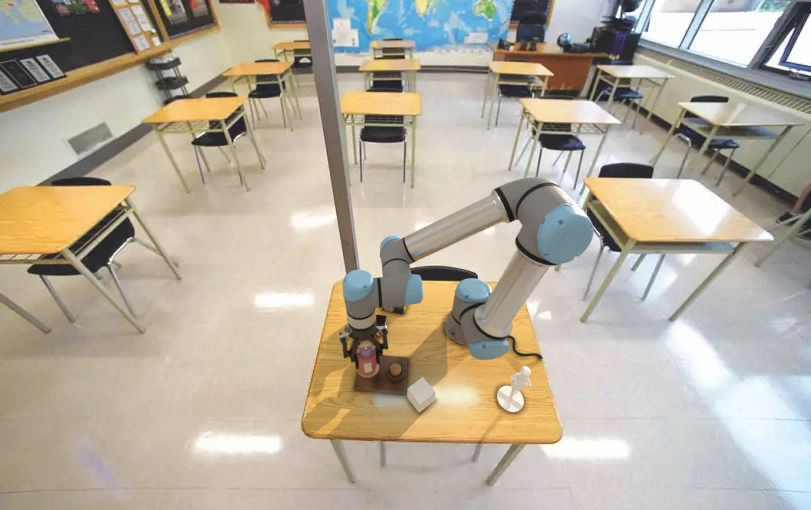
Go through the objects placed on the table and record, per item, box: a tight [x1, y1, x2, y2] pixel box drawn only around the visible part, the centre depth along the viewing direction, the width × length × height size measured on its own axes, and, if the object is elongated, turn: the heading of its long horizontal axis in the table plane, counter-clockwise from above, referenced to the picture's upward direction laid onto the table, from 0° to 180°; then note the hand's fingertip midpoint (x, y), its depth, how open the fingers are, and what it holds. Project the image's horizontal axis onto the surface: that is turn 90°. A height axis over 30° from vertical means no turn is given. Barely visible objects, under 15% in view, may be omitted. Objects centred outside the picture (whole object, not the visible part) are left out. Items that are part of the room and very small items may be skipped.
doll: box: [356, 340, 379, 378], centre depth 96 cm, size 7×7×17 cm
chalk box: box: [381, 306, 407, 315], centre depth 122 cm, size 9×9×15 cm
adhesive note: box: [406, 376, 436, 413], centre depth 97 cm, size 6×6×6 cm
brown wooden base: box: [353, 354, 409, 396], centre depth 103 cm, size 16×12×4 cm
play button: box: [390, 363, 401, 377], centre depth 101 cm, size 4×4×2 cm
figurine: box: [496, 366, 532, 413], centre depth 93 cm, size 8×8×18 cm
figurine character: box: [343, 314, 388, 337], centre depth 114 cm, size 7×8×15 cm
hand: (367, 362), depth 100 cm, fingers closed on doll, 6 cm apart
